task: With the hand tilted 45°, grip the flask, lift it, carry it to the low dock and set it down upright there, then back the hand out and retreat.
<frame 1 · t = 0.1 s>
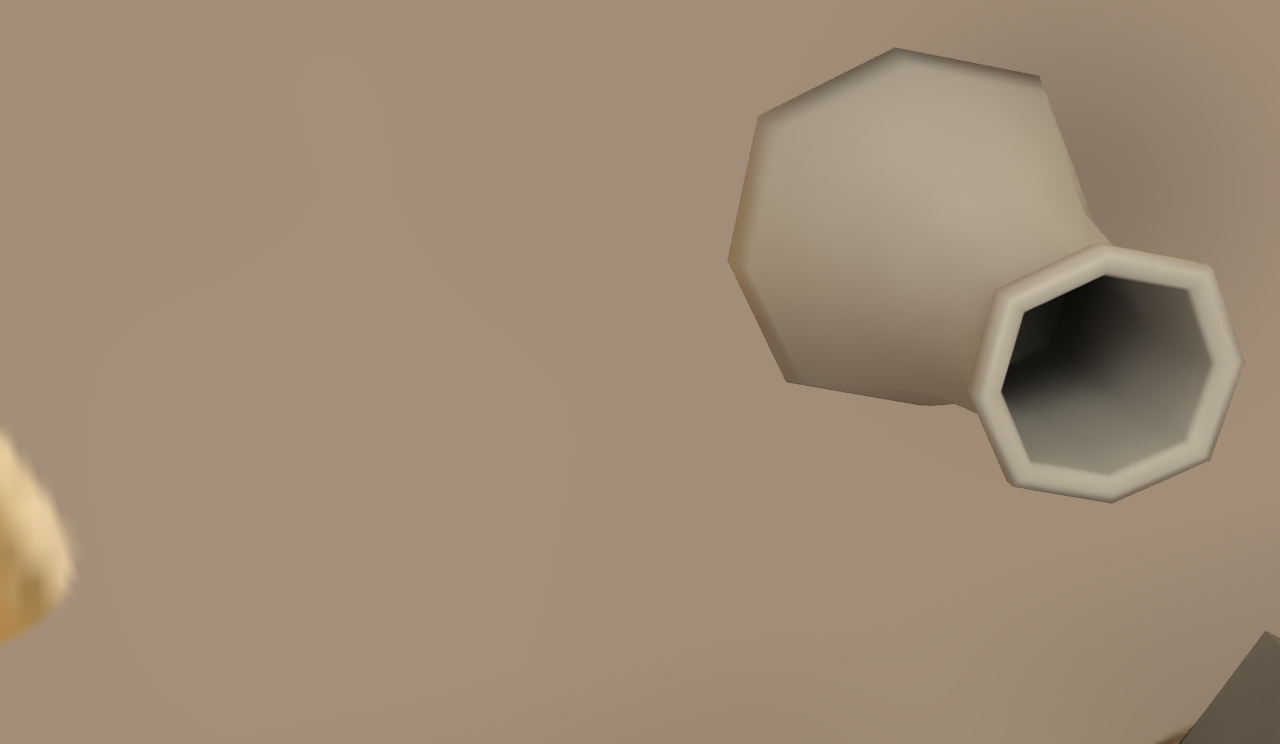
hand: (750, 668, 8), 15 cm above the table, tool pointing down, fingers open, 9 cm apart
flask: (902, 230, 23), on the table
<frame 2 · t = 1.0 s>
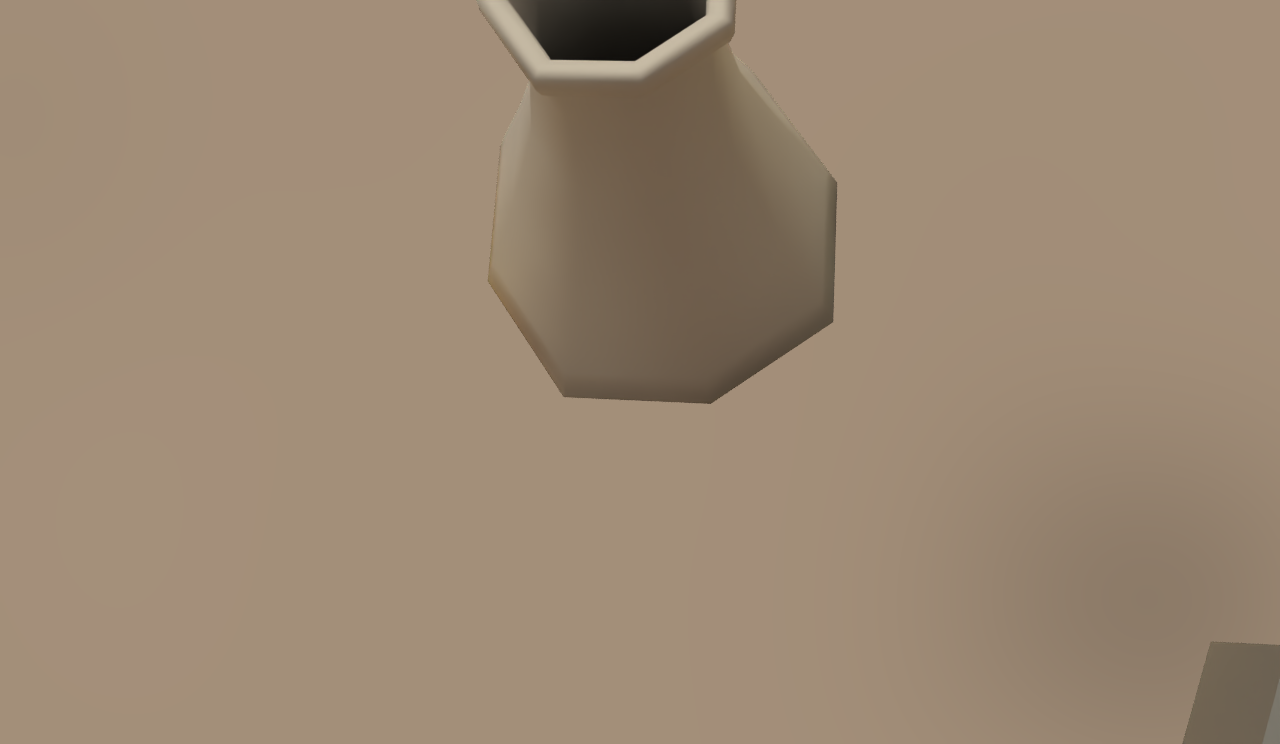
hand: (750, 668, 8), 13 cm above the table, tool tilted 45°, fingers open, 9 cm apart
flask: (663, 239, 23), on the table
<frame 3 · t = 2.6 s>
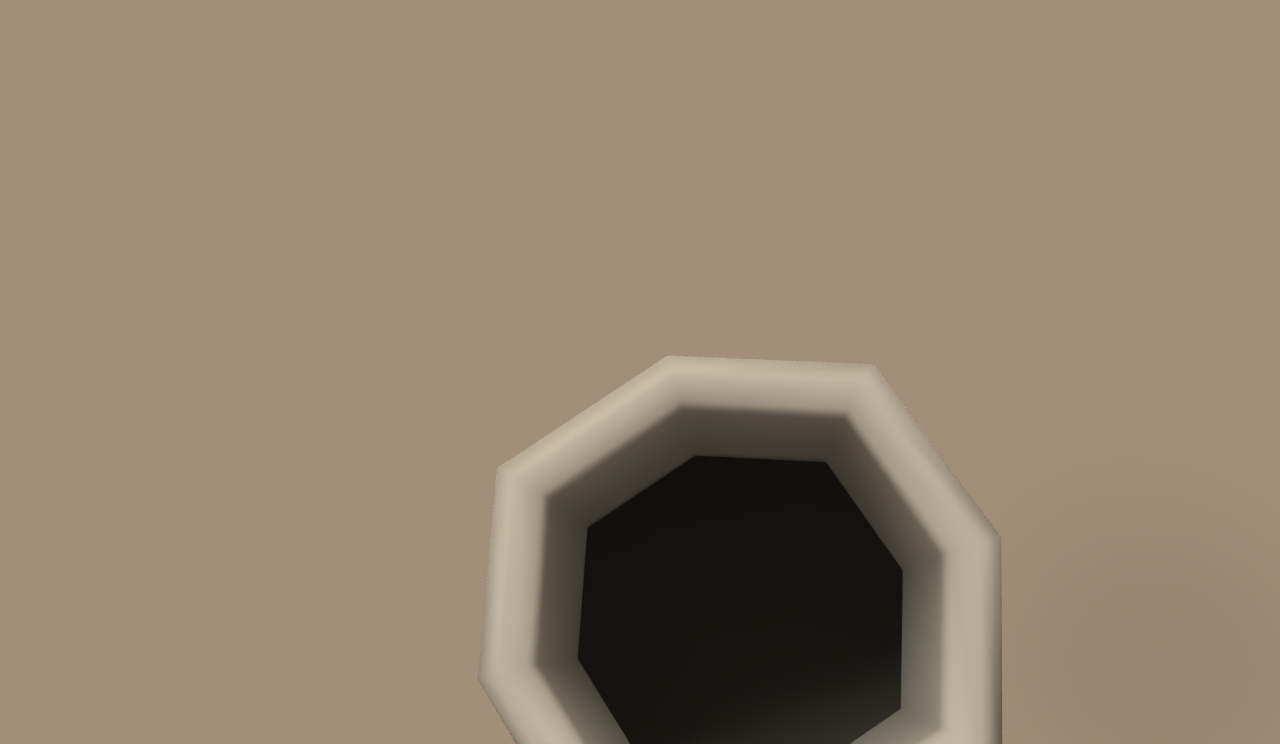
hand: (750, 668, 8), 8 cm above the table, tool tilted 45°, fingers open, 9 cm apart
flask: (742, 624, 17), on the table
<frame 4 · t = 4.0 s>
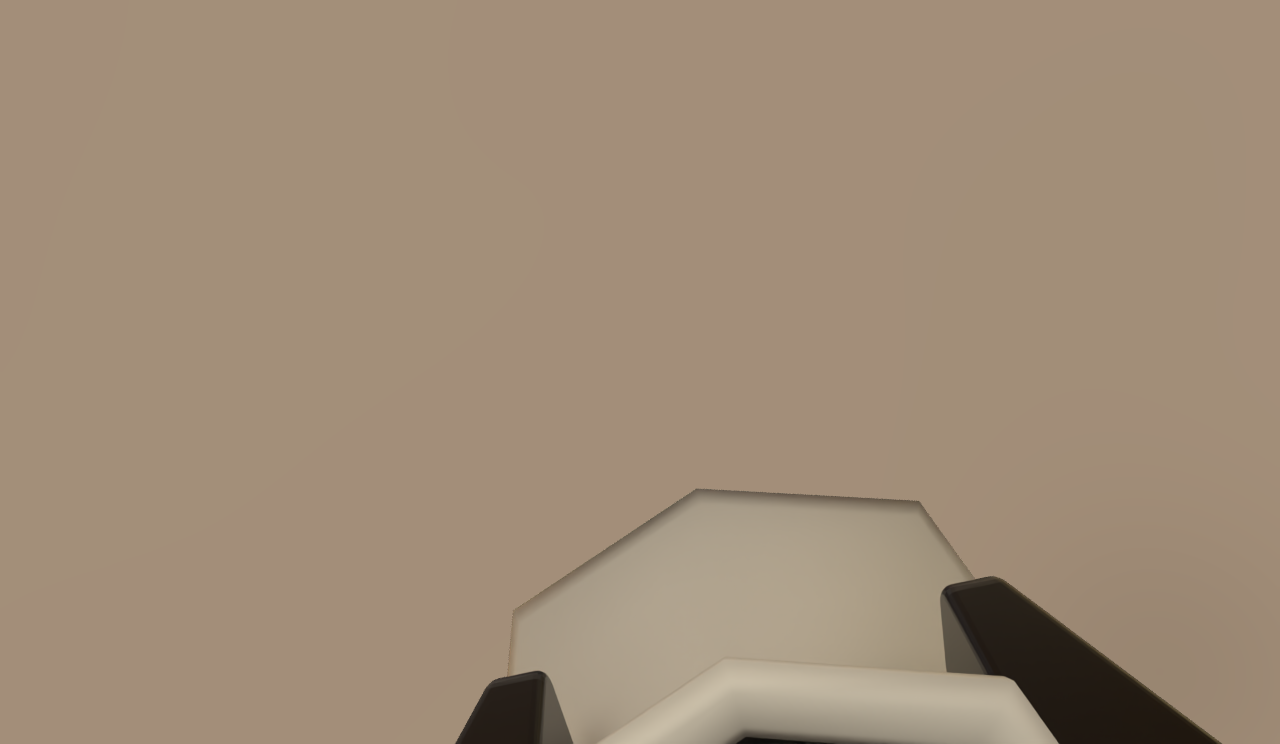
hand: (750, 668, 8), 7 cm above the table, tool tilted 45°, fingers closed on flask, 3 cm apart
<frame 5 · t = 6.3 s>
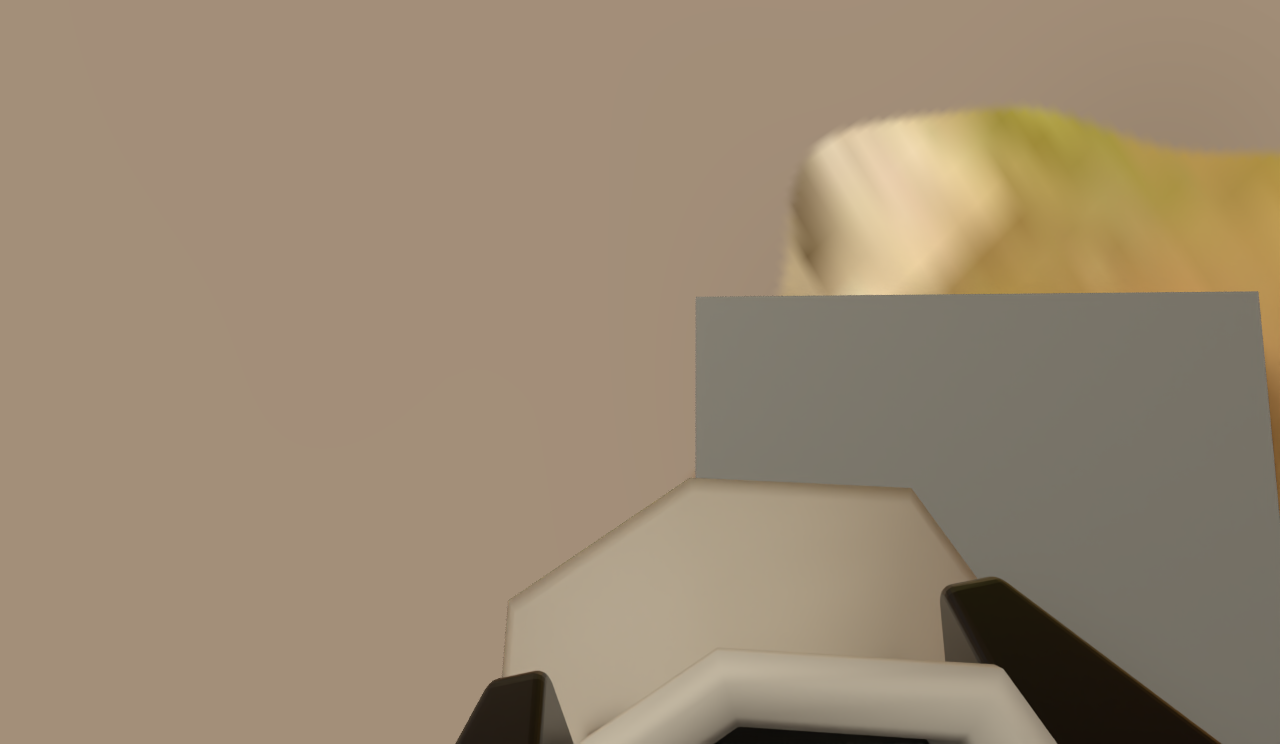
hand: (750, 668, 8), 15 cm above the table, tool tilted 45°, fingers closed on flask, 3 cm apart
dock: (951, 576, 23), on the table
when the fingers open (11 cm above the table, at t = 8.8 s): flask stays where it is, resting on dock.
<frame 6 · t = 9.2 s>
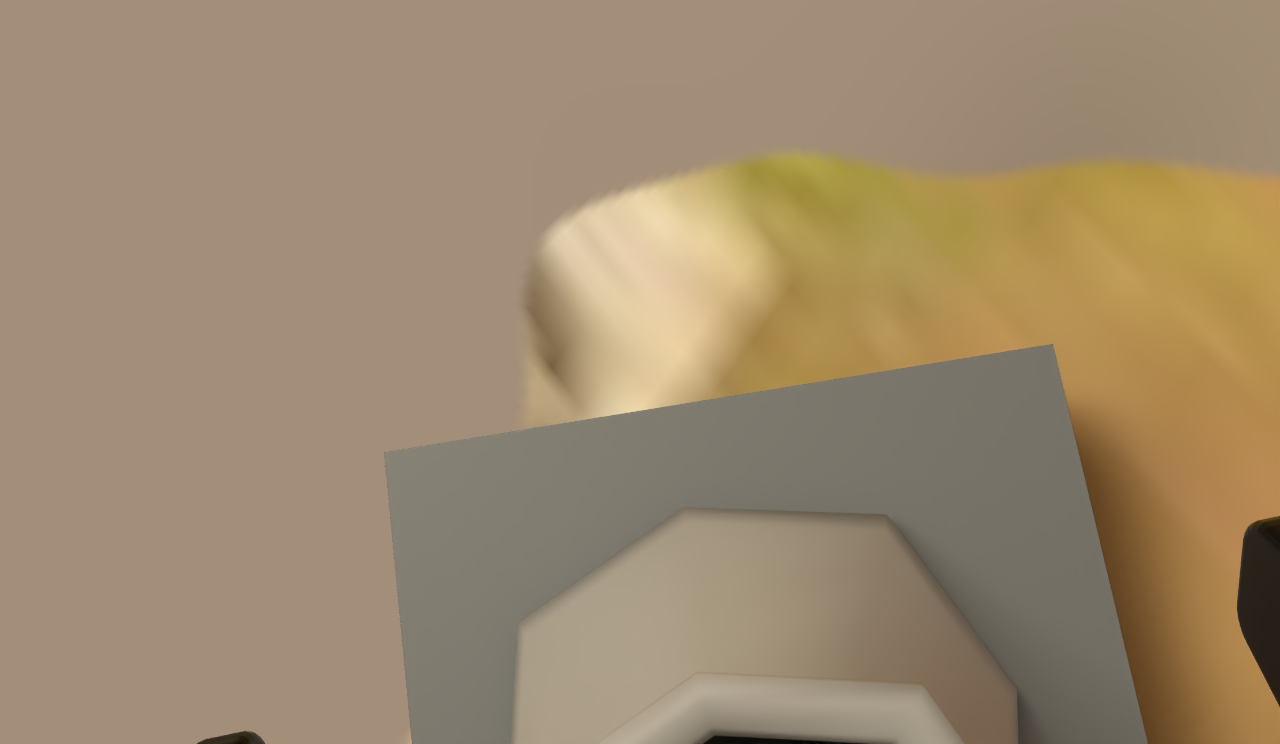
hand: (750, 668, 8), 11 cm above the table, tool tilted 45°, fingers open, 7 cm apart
dock: (766, 731, 19), on the table
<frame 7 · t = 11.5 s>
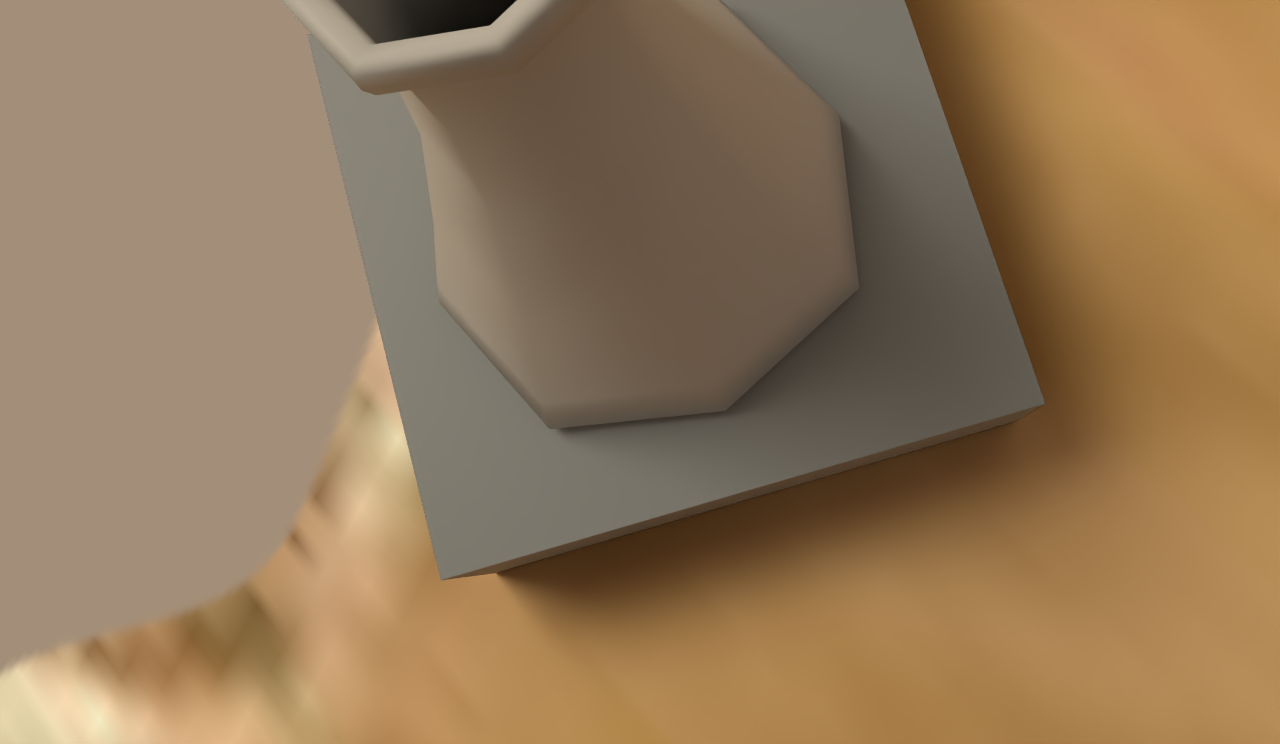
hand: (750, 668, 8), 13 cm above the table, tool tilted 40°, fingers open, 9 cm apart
dock: (672, 247, 22), on the table
flask: (640, 218, 19), point 3 cm above the table, touching dock
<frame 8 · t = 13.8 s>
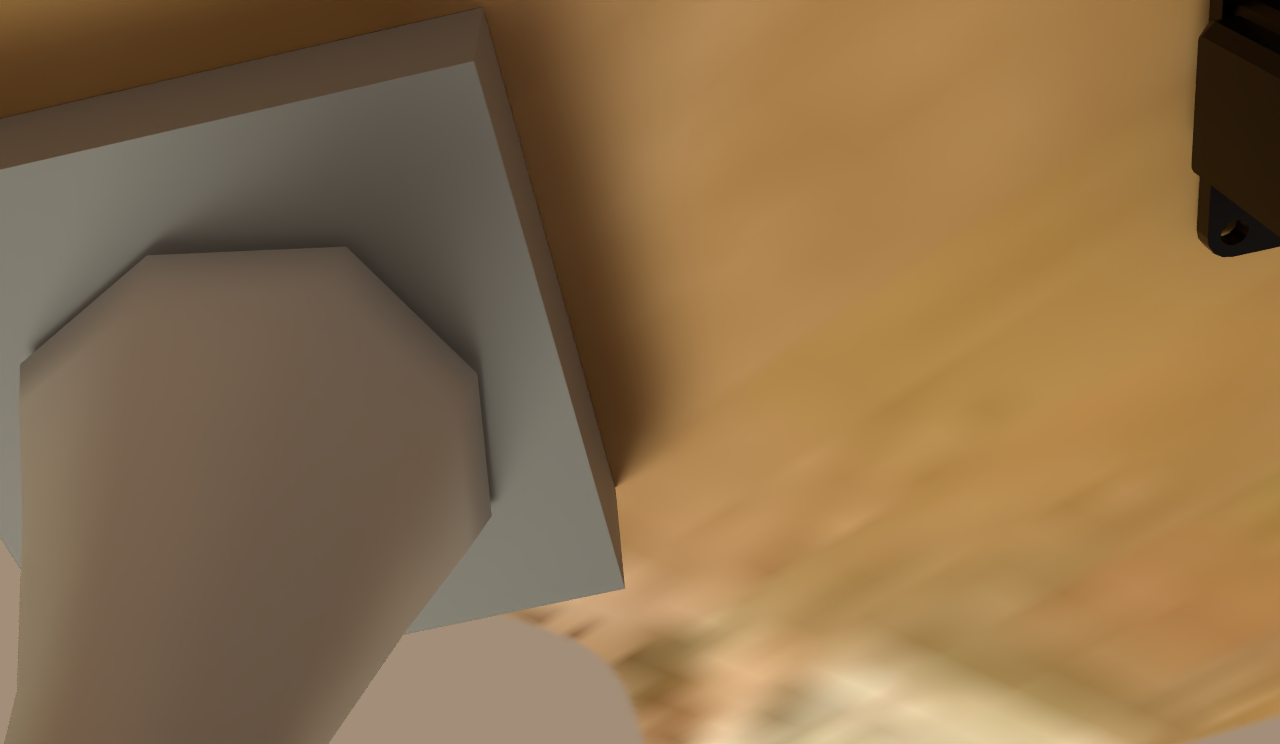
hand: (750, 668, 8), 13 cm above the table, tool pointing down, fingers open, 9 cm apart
dock: (294, 336, 21), on the table
flask: (275, 427, 19), point 3 cm above the table, touching dock
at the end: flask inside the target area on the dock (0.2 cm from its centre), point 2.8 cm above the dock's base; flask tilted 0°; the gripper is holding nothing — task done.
